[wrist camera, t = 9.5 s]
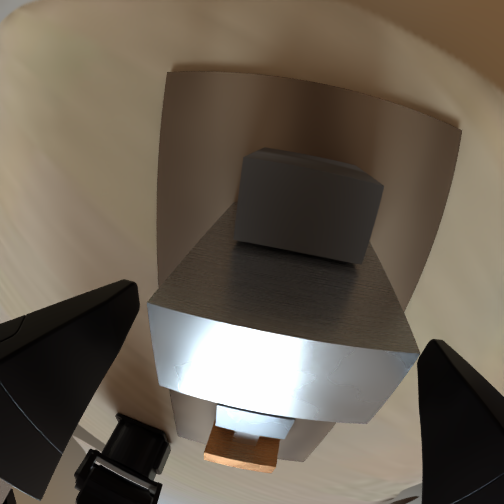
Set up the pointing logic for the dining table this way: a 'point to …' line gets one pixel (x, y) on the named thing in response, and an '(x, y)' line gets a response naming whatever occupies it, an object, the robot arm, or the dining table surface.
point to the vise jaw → (246, 438)
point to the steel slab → (280, 330)
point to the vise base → (308, 126)
